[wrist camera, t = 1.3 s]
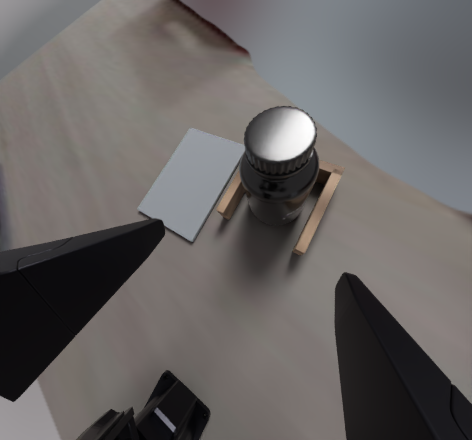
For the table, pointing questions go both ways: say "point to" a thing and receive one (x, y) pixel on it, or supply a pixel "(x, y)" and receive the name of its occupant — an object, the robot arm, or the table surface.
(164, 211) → the slate mat
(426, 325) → the table surface
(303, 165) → the supplement bottle
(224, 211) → the tan wooden bay
